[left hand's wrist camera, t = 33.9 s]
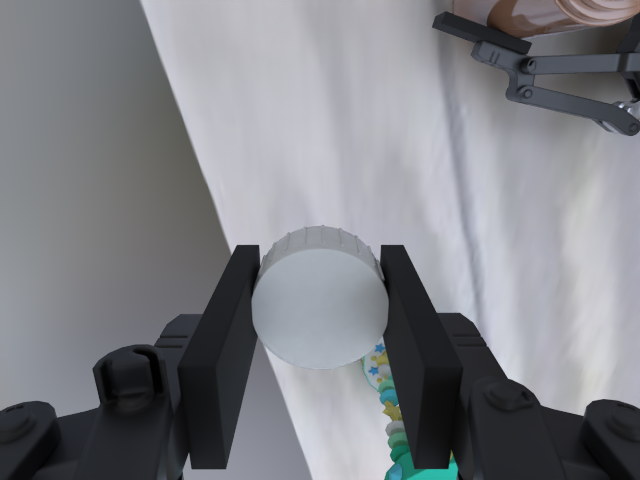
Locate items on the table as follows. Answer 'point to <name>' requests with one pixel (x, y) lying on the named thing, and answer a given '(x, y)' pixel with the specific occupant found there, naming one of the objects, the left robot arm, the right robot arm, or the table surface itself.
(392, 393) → the decorative hourglass
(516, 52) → the right robot arm
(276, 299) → the cap
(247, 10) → the table surface
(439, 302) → the table surface
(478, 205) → the table surface
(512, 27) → the bottle
